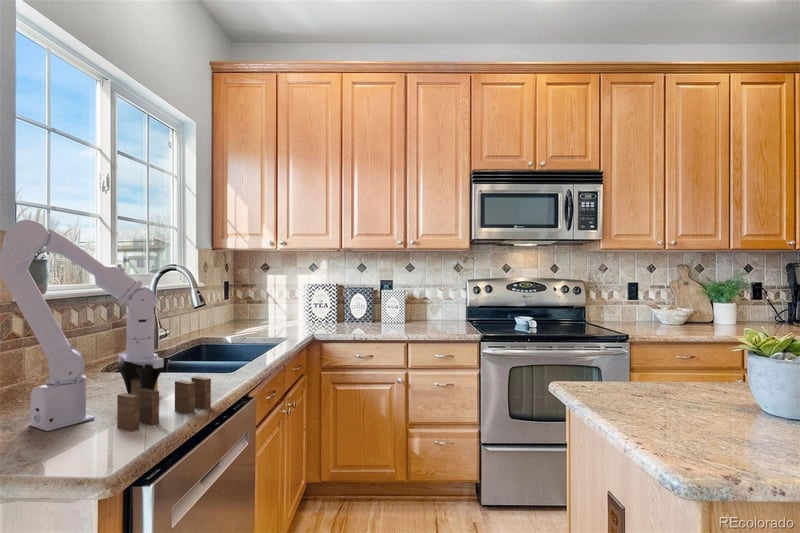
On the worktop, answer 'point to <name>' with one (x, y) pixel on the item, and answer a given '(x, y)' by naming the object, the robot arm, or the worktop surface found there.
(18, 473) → the worktop surface
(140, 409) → the domino
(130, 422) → the domino
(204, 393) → the domino
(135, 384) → the domino
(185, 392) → the domino
